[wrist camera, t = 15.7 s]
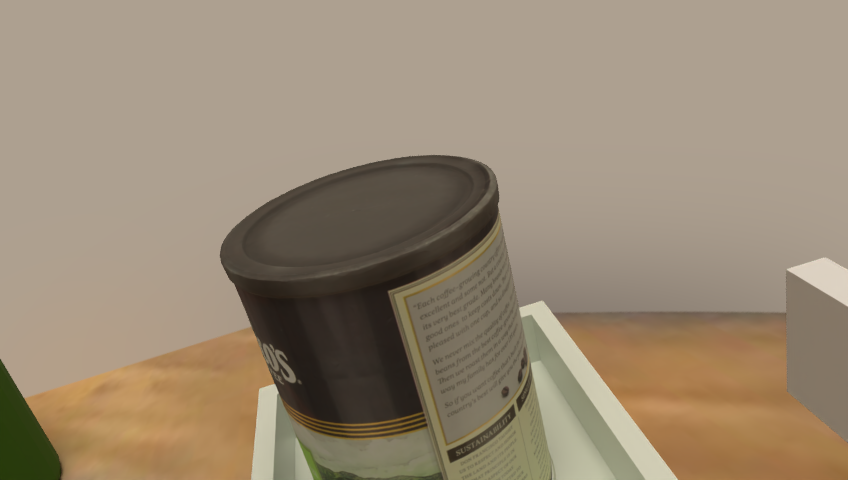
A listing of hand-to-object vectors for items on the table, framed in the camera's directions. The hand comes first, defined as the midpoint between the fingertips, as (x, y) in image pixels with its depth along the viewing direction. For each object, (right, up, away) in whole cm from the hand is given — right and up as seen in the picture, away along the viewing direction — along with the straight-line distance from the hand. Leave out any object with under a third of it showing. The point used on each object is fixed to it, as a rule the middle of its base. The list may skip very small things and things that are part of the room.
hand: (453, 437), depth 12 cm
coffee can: (0, -8, +18) cm, 20 cm away
